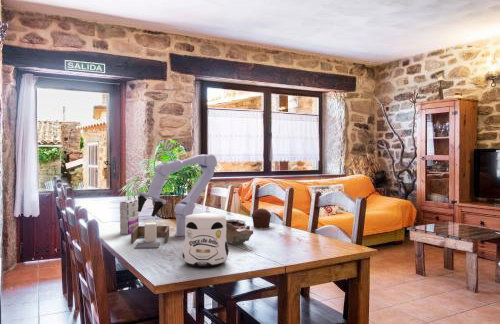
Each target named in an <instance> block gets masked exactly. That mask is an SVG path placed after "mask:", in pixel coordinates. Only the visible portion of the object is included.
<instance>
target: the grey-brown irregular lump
mask: <svg viewBox="0 0 500 324" xmlns="http://www.w3.org/2000/svg"><path fill="white" fill-rule="evenodd" d="M252 235H254V230H252V229H251V226H250V225H248V224H246V221H245V220H241V219H226V241H227V243H230V244H243V243H246V242H248V241H249V240H250V238H251V236H252Z"/></svg>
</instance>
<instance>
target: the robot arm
mask: <svg viewBox="0 0 500 324" xmlns="http://www.w3.org/2000/svg"><path fill="white" fill-rule="evenodd" d="M195 164H198V165H199V167H200V169H201V172H202V174H201V175H200V177H199V178H198V179H197V181H196V182H195V184H194V185H193V186H192V188H191V189H190V191H189V192H188V194H187V195H186V197H184V198H183V199H181V200H180V201H179V202H178V203H176V204H175V206H174V208H173V211H174V214H176V215H175V217H176V220H175V221H176V222H175V223H176V224H175V225H176V226H175V228H176V229H175V230H176V231H175V234H174V236H175V237H185V218H186V216H187V215H191V214H194V210H195V208H196V202H197V200H198V199H199V197H200V196H201V194H202V193H203V191H204V190H205V188H206V187H207V186H208V184H209V182H210V181H211V180H212V179H213V177H214V174H215V170H216V169H215V168H216V166H217V165H218V161H217V157H216V156H215V155H214V154H204V153H202V154H198V155H193V156H191V157H187V158H185V159H183V160H181V159H179V158H173V159H172V160H171V161H165V162H164V163H159V164H157V165H156V166H155V167H154V172H155V173H154V176H153V178H152V180H151V183H150V186H149V189H148V190H147V193H146V192H142V191H138V193H137V200H138V213H141V211H142V210H143V207H144V206H145V203H146V202H147V199H149V200H152V201H154V207H153V210H152V212H151V217H152V218H155V216H156V215H157V213H158V212H159V211H160V210H161V208H163V207H164V205H166V204H167V200H166V199H164V198H161V197H160V195H161V192H162V189H163V187H164V185H165V182H166V179H167V176H170V174H174V173H177V172H179V171H182V170H183V169H184V167H187V166H191V165H195Z"/></svg>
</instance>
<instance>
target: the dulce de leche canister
mask: <svg viewBox="0 0 500 324" xmlns="http://www.w3.org/2000/svg"><path fill="white" fill-rule="evenodd" d="M226 220H227V217H226V215H224V214H220V213H205V212H203V213H193V214H191V215H187V216H186V218H185V236H184V243H183V246H182V259H183V261H184V262H185V263H186V264H187V265H189V266H193V267H199V268H209V267H216V266H220V265H223V264H224V263H225V262H227V260H228V257H229V244H228V242H227V241H226Z"/></svg>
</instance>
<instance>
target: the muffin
mask: <svg viewBox="0 0 500 324" xmlns="http://www.w3.org/2000/svg"><path fill="white" fill-rule="evenodd" d="M251 218H252V223H253V228H257V229H268V228H270V224H271V218H272V214H271V212H270V211H269V210H268V209H265V208H256V209H255V210H254V211H253V212H252V214H251Z"/></svg>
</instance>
